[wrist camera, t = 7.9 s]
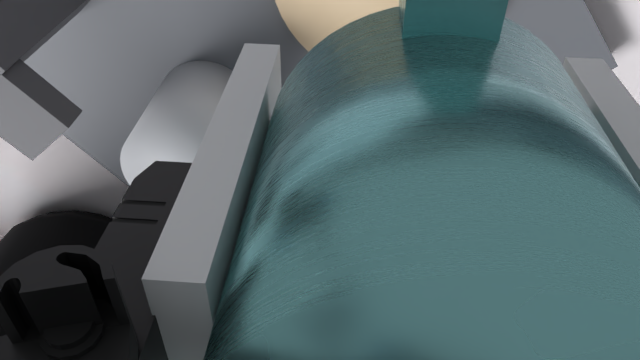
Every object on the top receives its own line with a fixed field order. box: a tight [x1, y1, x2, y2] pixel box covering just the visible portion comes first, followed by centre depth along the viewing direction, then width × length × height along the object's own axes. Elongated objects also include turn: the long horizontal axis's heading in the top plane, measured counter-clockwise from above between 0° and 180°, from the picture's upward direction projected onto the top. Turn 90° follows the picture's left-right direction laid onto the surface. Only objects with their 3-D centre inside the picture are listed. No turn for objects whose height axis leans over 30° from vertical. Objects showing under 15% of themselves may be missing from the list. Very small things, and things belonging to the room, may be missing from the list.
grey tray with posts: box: [0, 0, 617, 187], centre depth 20 cm, size 18×22×9 cm
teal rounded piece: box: [204, 0, 640, 360], centre depth 8 cm, size 11×6×7 cm, turn 179°
